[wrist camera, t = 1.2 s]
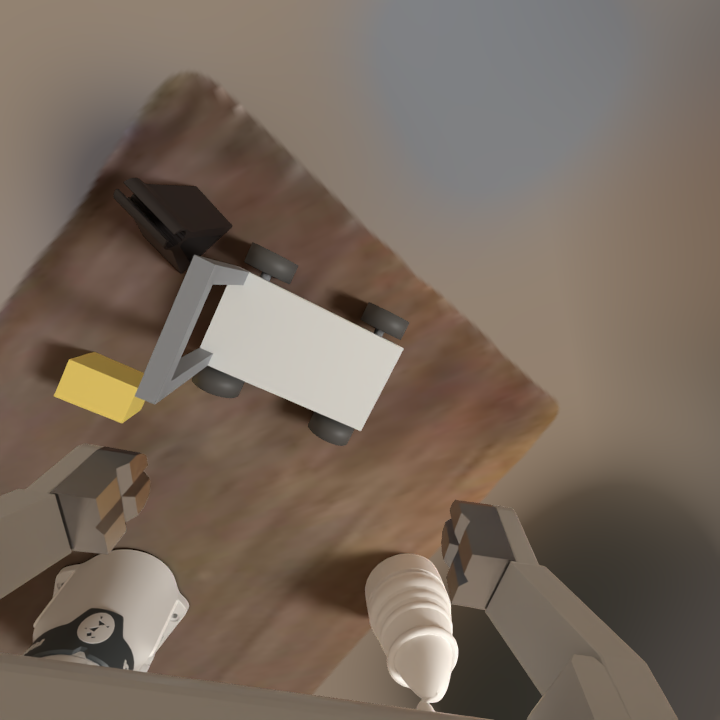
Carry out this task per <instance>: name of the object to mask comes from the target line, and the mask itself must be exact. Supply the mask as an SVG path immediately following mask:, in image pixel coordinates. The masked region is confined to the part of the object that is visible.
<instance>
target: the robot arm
mask: <svg viewBox="0 0 720 720" xmlns="http://www.w3.org/2000/svg"><path fill="white" fill-rule="evenodd" d="M147 466H148V461H147V456H146V455H145V454H143V453H138V452H133V451H127V450H121V449H116V448H110V447H102V446H96V445H91V444H82V445H79V446H77V447H76V448H75V449H73V450H72V451H71V452H70V453H69V454H67V455H66V456H65V457H64V458H63V459H61V460H60V461H59V462H58V463H57V464H55V465H54V466H53V467H52V468H51V469H49V470H48V471H47V472H46V473H45V474H43V475H42V476H41V477H40V478H39V479H37V480H36V481H35V482H34V483H33V484H31V485H30V486H29V487H28V488H27V489H25V490H23V489H17V490H14V491H12V492H9V493H7V494H4V495H2V496H0V599H1V598H3V597H5V596H6V595H8V594H9V593H11V592H12V591H14V590H15V589H17V588H18V587H20V586H21V585H23V584H24V583H26V582H27V581H29V580H30V579H32V578H34V577H35V576H37V575H38V574H40V573H41V572H43V571H44V570H46V569H47V568H49V567H50V566H52V565H53V564H55V563H56V562H58V561H59V560H61V559H63V558H64V557H66V556H67V555H69V554H70V553H71V550H72V551H81V552H90V553H99V555H97V556H95V557H93V558H92V559H90V560H88V561H87V562H85V563H82V564H77V565H71V566H67V567H64V568H63V569H61V570H60V572H59V573H58V575H57V576H56V580H55V586H54V593H53V598H52V600H51V601H50V602H49V604H48V605H47V606H46V608H45V609H44V610H43V611H42V613H41V614H40V615H39V617H38V618H37V619H36V621H35V623H34V625H33V627H34V628H35V629H34V632H33V644H32V645H31V646H30V647H29V648H28V649H27V650H26V652H25V653H24V654H23V655H15V654H8V653H1V652H0V720H491V719H484V718H476V717H469V716H461V715H455V714H447V713H440V712H433V711H425V710H418V709H410V708H403V707H395V706H389V705H382V704H374V703H367V702H360V701H352V700H345V699H338V698H330V697H323V696H316V695H309V694H301V693H294V692H287V691H279V690H272V689H265V688H258V687H250V686H243V685H236V684H228V683H221V682H214V681H206V680H199V679H192V678H184V677H177V676H170V675H162V674H155V673H148V672H147V671H148V669H149V666H150V664H151V662H152V660H153V658H154V656H155V653H156V651H157V650H158V649H159V647H160V646H161V645H162V644H163V642H164V641H165V640H166V638H167V637H168V636H169V635H170V633H171V632H172V631H173V630H174V628H175V627H176V626H177V624H178V623H179V622H180V621H181V619H182V618H183V617H184V615H185V614H186V612H187V610H188V608H189V604H188V602H187V600H186V599H185V598H184V597H183V596H182V595H181V593H180V592H179V590H178V588H177V584H176V580H175V578H174V576H173V574H172V572H171V571H170V569H169V568H168V567H167V566H166V565H165V564H164V563H163V562H162V561H160V560H159V559H157V558H156V557H154V556H152V555H150V554H147V553H144V552H141V551H136V550H127V549H122V550H113V551H112V549H113V548H114V547H115V545H116V544H117V543H118V541H119V540H120V539H121V537H122V536H123V535H124V533H125V532H126V531H127V529H126V522H127V521H129V520H131V519H132V518H134V517H136V516H138V515H139V513H140V512H141V510H142V509H143V508H144V506H145V504H146V502H147V499H148V497H149V494H150V488H151V483H150V478H149V477H148V475H147V474H146V473H145V472H144V470H145V468H146V467H147ZM450 514H451V519H449V520H448V521H446V522H445V525H444V528H443V531H442V541H441V544H442V555H443V560H444V562H445V563H446V564H447V565H448V566H449V567H450V569H449V571H448V574H447V583H448V588H449V594H450V599H451V604H455V605H461V606H466V607H472V608H477V609H483V610H486V611H485V612H486V614H487V615H488V616H489V618H490V620H491V621H492V622H493V624H494V625H495V627H496V628H497V630H498V631H499V633H500V634H501V636H502V637H503V638H504V640H505V642H506V643H507V644H508V646H509V648H510V649H511V650H512V652H513V653H514V655H515V656H516V658H517V659H518V661H519V662H520V664H521V665H522V667H523V668H524V669H525V671H526V672H527V674H528V675H529V677H530V678H531V680H532V681H533V683H534V684H535V686H536V687H537V689H538V690H539V692H540V693H541V694H542V696H543V697H542V698H541V699H540V701H539V702H538V704H537V705H536V706H535V708H534V709H533V710H532V712H531V713H530V715H529V716H528V718H527V720H678V718H677V716H676V715H675V713H674V711H673V709H672V708H671V706H670V704H669V702H668V701H667V699H666V697H665V695H664V694H663V692H662V690H661V688H660V687H659V685H658V683H657V681H656V680H655V678H654V677H653V674H652V673H651V671H650V669H649V667H648V666H647V664H646V662H644V660H642V659H641V658H640V657H639V656H638V655H637V654H636V653H635V652H634V651H633V650H632V649H631V648H630V647H629V646H628V645H627V644H626V643H625V642H624V641H623V640H621V638H619V637H618V636H617V635H616V634H615V633H614V632H613V631H612V630H611V629H610V628H609V627H608V626H607V625H606V624H605V623H604V622H603V621H602V620H600V619H599V618H598V617H597V616H596V615H595V614H594V613H593V612H592V611H591V610H590V609H589V608H588V607H587V606H586V605H585V604H584V603H583V602H582V601H581V600H580V599H579V598H577V596H575V595H574V594H573V593H572V592H571V591H570V590H569V589H568V588H567V587H566V586H565V585H564V584H563V583H562V582H561V581H560V580H559V579H558V578H557V577H556V576H555V575H554V574H552V573H551V572H550V571H549V570H548V569H547V568H546V567H545V566H540V565H539V564H538V563H537V560H536V557H535V555H534V553H533V551H532V548H531V546H530V544H529V542H528V539H527V537H526V535H525V533H524V530H523V528H522V526H521V523H520V521H519V519H518V517H517V514H516V512H515V511H514V510H513V509H512V508H510V507H502V506H495V505H488V504H481V503H474V502H467V501H459V500H455V501H454V502H453V503H452V505H451V508H450Z"/></svg>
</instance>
